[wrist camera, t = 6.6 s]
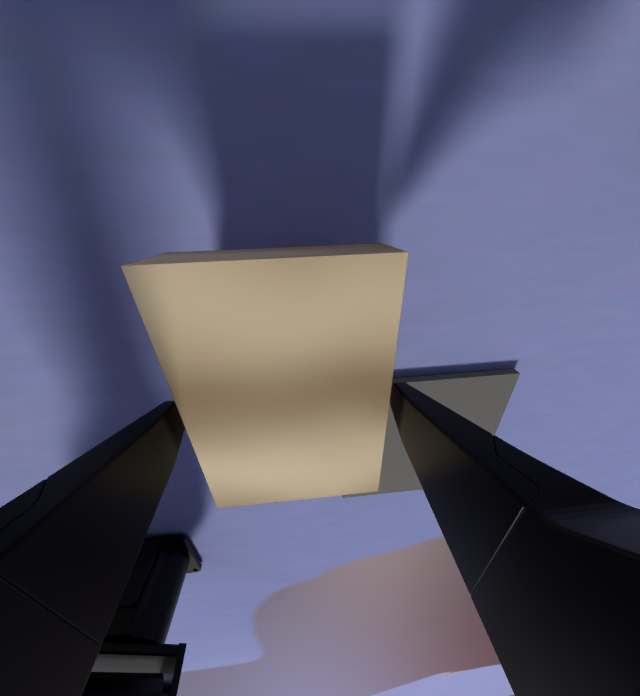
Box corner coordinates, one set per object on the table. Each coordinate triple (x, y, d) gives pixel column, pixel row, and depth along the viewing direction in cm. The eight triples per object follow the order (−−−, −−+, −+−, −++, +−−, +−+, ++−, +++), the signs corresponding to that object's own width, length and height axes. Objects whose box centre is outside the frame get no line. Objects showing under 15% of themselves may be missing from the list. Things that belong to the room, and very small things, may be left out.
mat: (470, 477, 23) (474, 483, 22) (341, 491, 22) (342, 497, 22) (513, 368, 17) (519, 373, 17) (342, 382, 17) (344, 387, 16)
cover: (364, 447, 13) (378, 491, 11) (230, 459, 13) (217, 508, 11) (380, 243, 8) (408, 251, 6) (167, 252, 8) (120, 266, 6)
